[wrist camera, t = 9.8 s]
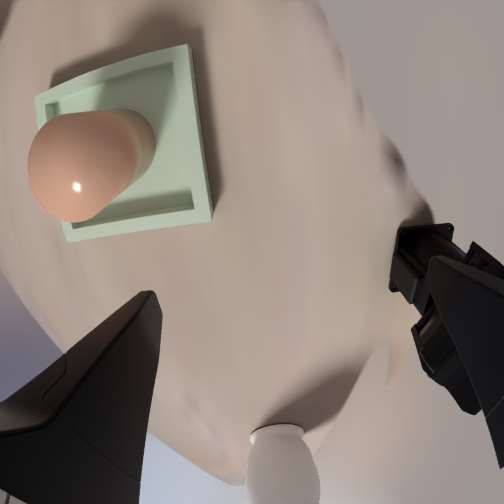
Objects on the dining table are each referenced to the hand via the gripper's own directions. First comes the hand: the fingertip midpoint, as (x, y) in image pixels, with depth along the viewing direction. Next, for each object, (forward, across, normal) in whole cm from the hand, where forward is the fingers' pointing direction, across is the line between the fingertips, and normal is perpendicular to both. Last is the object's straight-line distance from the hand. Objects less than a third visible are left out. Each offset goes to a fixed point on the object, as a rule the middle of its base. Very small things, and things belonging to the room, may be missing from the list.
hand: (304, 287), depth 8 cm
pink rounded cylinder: (+12, +10, -4) cm, 16 cm away
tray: (+13, +10, -4) cm, 17 cm away
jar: (+13, +1, +38) cm, 40 cm away
